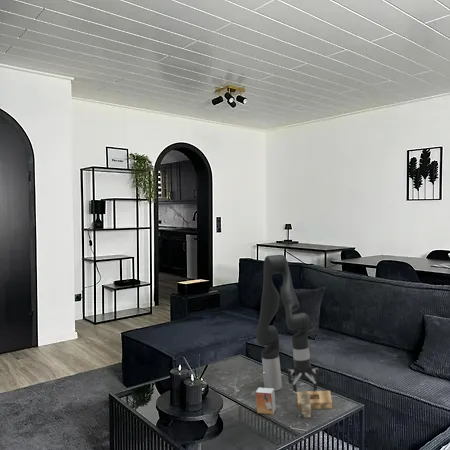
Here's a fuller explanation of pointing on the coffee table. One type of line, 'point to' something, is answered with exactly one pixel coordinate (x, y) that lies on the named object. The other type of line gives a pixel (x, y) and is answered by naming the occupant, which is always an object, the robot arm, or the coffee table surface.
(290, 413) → the coffee table surface
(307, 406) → the ash peg
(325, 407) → the oak board
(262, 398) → the small box
